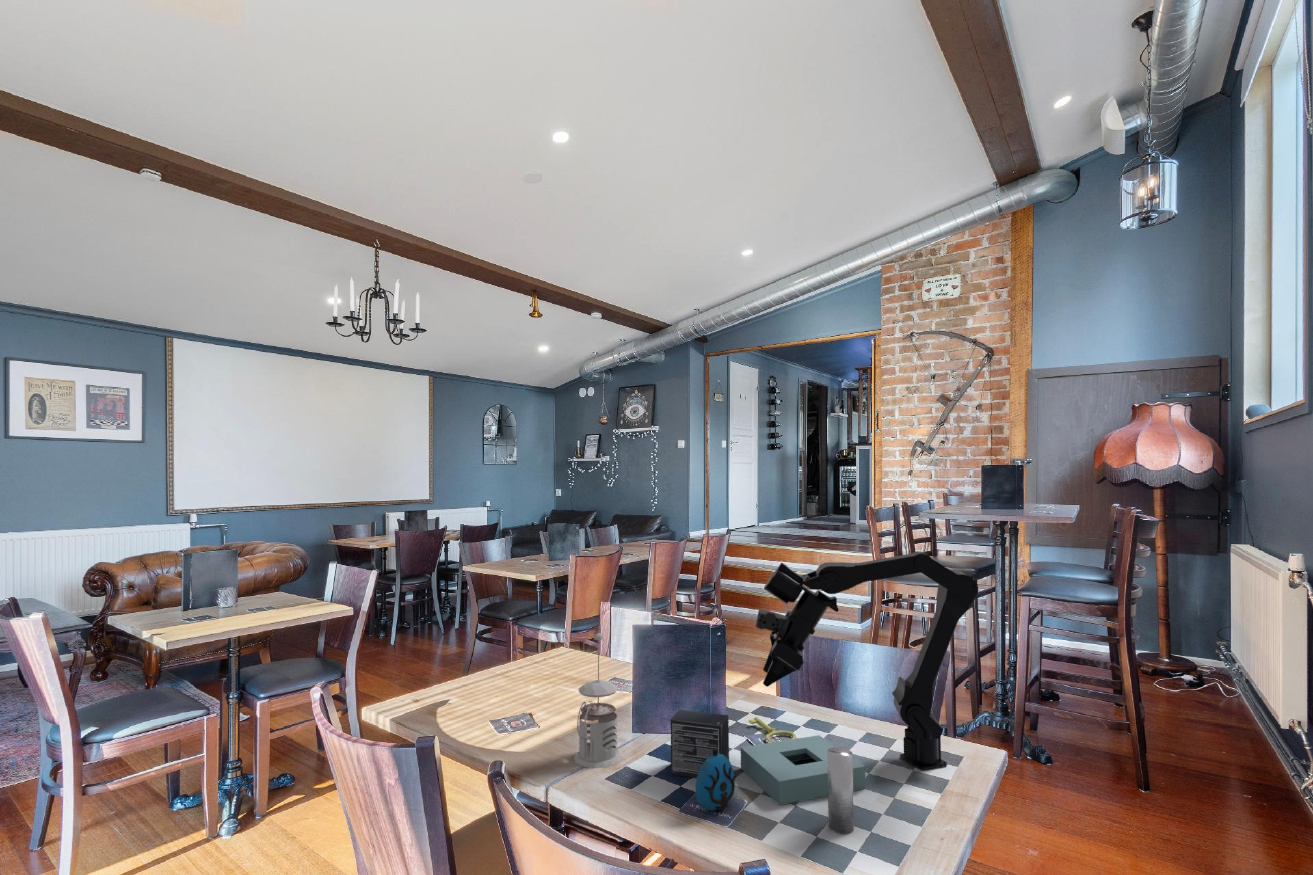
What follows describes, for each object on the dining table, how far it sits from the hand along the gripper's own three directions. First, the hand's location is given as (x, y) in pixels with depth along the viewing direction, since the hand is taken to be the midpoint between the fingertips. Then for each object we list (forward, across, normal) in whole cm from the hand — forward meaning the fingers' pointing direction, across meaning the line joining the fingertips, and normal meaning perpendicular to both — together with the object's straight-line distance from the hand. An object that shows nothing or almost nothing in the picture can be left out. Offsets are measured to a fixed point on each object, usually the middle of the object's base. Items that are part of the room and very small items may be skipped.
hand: (764, 678), depth 135 cm
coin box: (+9, +11, +14) cm, 20 cm away
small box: (+20, +11, -2) cm, 23 cm away
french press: (+31, +10, -21) cm, 39 cm away
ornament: (+17, +25, +1) cm, 31 cm away
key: (+12, -9, +10) cm, 18 cm away
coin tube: (+6, +28, +18) cm, 34 cm away
